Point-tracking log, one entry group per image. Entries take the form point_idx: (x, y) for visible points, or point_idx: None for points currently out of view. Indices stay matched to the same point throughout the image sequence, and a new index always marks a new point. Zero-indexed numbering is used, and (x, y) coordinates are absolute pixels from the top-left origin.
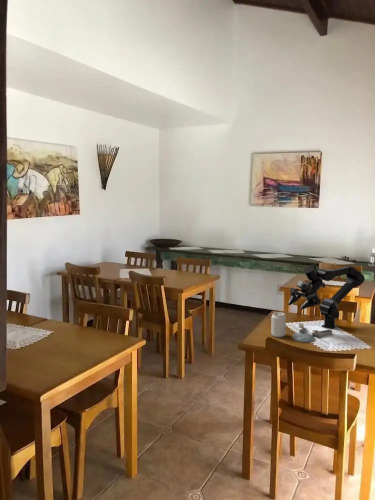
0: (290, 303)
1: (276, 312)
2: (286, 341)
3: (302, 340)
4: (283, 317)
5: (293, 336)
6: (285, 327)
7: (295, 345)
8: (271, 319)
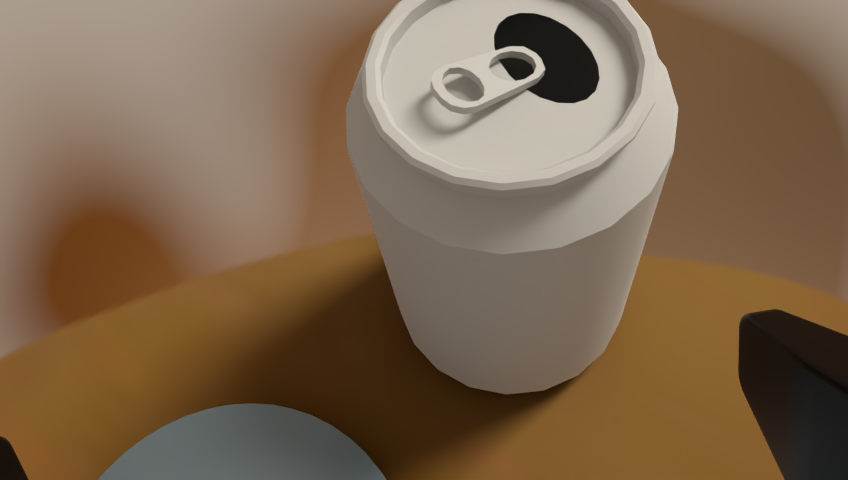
0: (782, 415)
1: (641, 67)
2: (258, 285)
3: (105, 474)
4: (360, 135)
5: (304, 433)
6: (411, 306)
7: (86, 320)
8: (552, 36)
